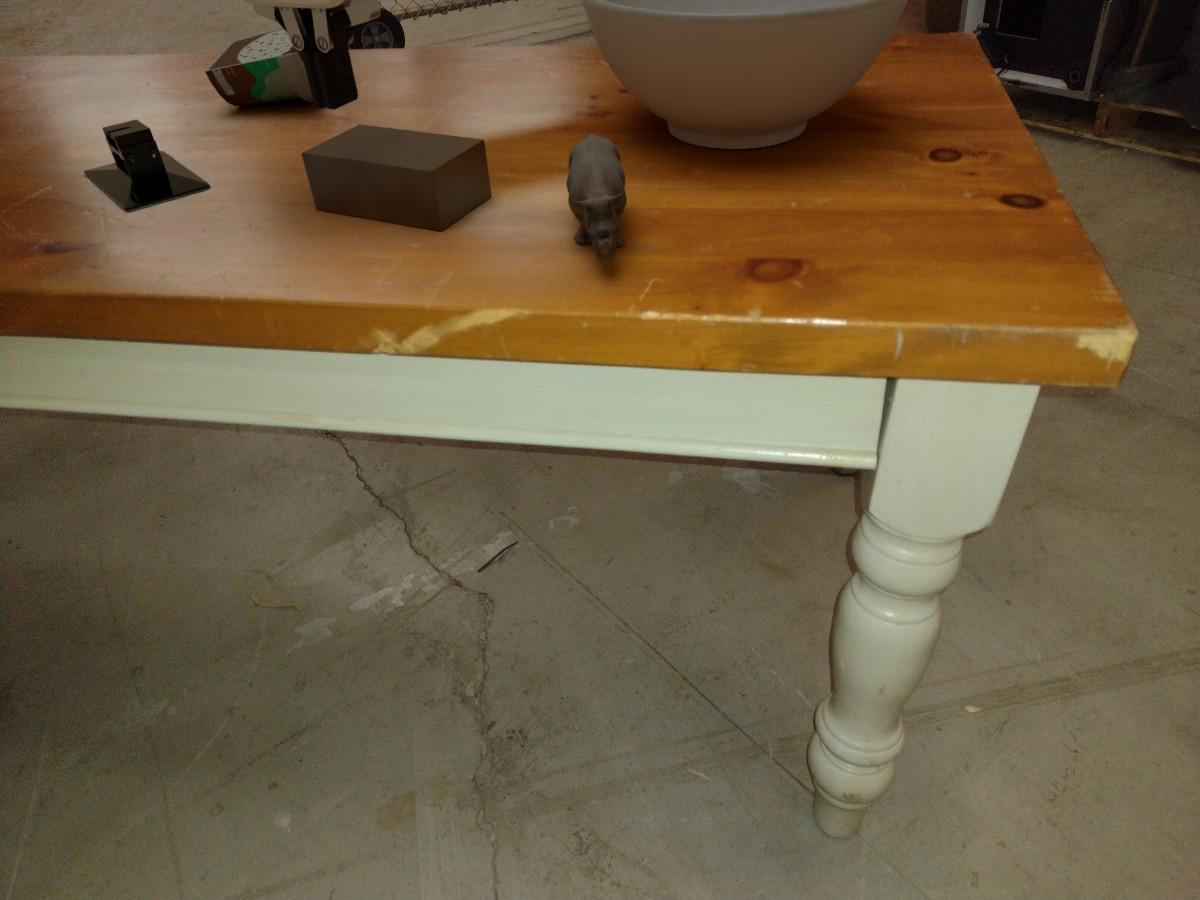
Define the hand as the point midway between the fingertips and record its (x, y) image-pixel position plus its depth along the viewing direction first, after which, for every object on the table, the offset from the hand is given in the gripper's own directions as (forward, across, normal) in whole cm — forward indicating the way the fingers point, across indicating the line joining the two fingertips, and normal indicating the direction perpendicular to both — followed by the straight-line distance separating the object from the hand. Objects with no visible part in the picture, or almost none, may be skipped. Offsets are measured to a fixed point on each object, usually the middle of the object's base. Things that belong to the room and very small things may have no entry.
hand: (337, 103), depth 66 cm
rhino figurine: (+8, +22, -1) cm, 24 cm away
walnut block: (+5, -1, 0) cm, 5 cm away
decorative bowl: (+8, +23, +25) cm, 35 cm away
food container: (+5, -30, +16) cm, 34 cm away
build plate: (+7, -20, -4) cm, 22 cm away
